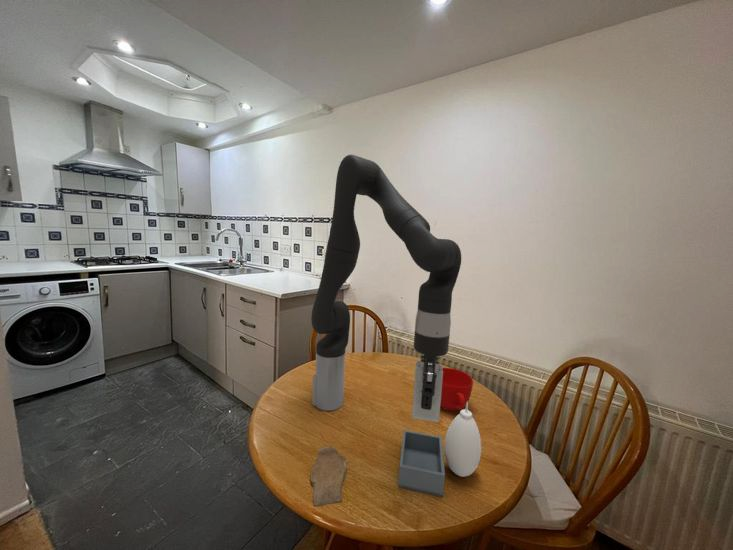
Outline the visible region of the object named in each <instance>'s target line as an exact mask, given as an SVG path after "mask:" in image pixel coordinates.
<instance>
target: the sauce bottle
mask: <svg viewBox="0 0 733 550" xmlns="http://www.w3.org/2000/svg"><path fill="white" fill-rule="evenodd" d="M468 401H469V400H468ZM468 401H467V403H466V404H465V408H463V409H460V411H459V414H457V415H456V416H455V418H453V420H452V421H451V423H450V425H449V427H448V428H447V431H446V434H445V439H444V449H443V452H444V455H445V460H446V464H447V465H448V467H449V469H450V470H451V471H452V472H454V474H455V475H457V476H459V477H462V478H463V477H464V478H465V477H468V476H471V475H472V474H473V473H474V472H475V471H476V469H477V467H479V464H480V461H481V456H482V439H481V435H480V430H479V427H478V424H477V422H476V420H475V419H474V417H473V413H472V412H471V411H470V410H469V409H468V408H469V402H468Z"/></svg>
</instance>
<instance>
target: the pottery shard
mask: <svg viewBox="0 0 733 550" xmlns="http://www.w3.org/2000/svg"><path fill="white" fill-rule="evenodd" d="M347 465H348V464H347V462H346V457H345V456H342V455H340V454H339V452H338V451H337V449H336V447H334V446H332V445H329V446H324V447H322V448H320V449H319V450H318V452H317V457H316V458H315V461H314V463H313V465H312V468H311V472H310V482H311V484H312V492H313V493H312V494H313V498H312V502H313V507H321V506H325V505H326V506H327V505H333V504H339V503H340V504H341V503H342V502H343V493H342V489H343V483H344V481H345V477H346V474H347V473H346V472H347Z"/></svg>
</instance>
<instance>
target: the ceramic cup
mask: <svg viewBox="0 0 733 550" xmlns="http://www.w3.org/2000/svg"><path fill="white" fill-rule="evenodd" d="M442 369H443V379H442V392H441V403H440V408H442V409H444V410H446V411H450V412H457V411H459V410H463V409H465V407H466V403H467V401H469V400H470V398H471V395H472V391H473V385H474V380H473V378H472V377H471V375H470V374H468V373H466V372H464V371H462V370H460V369H456V368H452V367H451V368H450V367H442Z"/></svg>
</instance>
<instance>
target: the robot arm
mask: <svg viewBox="0 0 733 550" xmlns="http://www.w3.org/2000/svg"><path fill="white" fill-rule="evenodd" d="M335 181H336V182H335V192H334V200H333V201H334V202H333V212H332V218H331V223H330V229H329V230H330V231H329V236H328V241H327V245H326V249H325V254H324V262H323V267H322V274H321V276H320V282H319V286H318V290H317V293H316V296H315V299H314V303H313V306H312V311H311V318H310V319H311V325H312V329H313V330H314V332H315V333H317V334H319V335H325V336H324V337H322V338H321V339H319V340H318V341H317V343H316V344H315V345H316V346H315V371H314V372H315V373H314V375H313V376H312V391H311V392H312V393H311V395H312V398H311V404H312V406H315V408H317V409H318V410H321V411H324V412H325V411H327V412H329V411H335V410H338V409H340V408H342V406H343V404H344V394H345V393H344V390H345V371H346V370H345V369H346V367H345V366H346V348H347V346H348V344H349V338H350V337H349V336H350V326H351V313H350V308H349V306H348V305H347V303H346V302H344V301H342V300H336V299H337V296H338V294H339V291H340V290H341V288H342V287H343V285H345V283H346V282H347V280H348V278H350V276H351V275H352V273H353V272H354V270H355V268H356V266H357V262H358V257H359V253H360V249H361V239H360V234H359V231H358V227H357V224H356V220H355V205H356V199H357V195H359V196H366V197H368V198H370V199H371V200H373V201H374V202H376V203H377V204H378V206H379V207H380V208H381V211H382V214H383V217H384V220H385V222H386V223H387V225H388V227H389V228H390V229H391V230H392V232H394V234H396V236H397V237H398V238H399V239H400V240H401V241H402V242H403V243H404V246H405V248H406V249H407V251H408V253H409V255H410V257H411V259H412V261H414V263H415V264H416V265H417V266H418V267H419V268H420V269H422V270H424V271H425V272H427V273H429V275H428V279H427V280H426V281H425V282H423V283H422V284H421V285H420V286H419V291H418V299H417V311H416V314H415V321H414V322H415V324H414V335H413V336H414V337H413V349H414V350H415V351H416V352H417V353H419V354H421V355H420V359H419V360H420V367H421V378H420V380H421V382H422V389H421V393H422V400H421V408H422V409H427V410H431V406H432V396H434V395H435V392H434V390H435V384H436V382H437V371H438V369H439V364H440V362H439V357H444V356H445V355H446V356H447V354H448V352H449V346H450V335H451V334H450V333H451V326H452V324H451V323H452V320H451V319H452V318H451V311H452V302H453V300H452V299H453V291H454V289H455V286H456V282H457V280H458V276H459V272H460V270H461V265H462V252H461V248H460V247H459V244H458V243H457V242H456V241H454V240H451V239H449V238H447V239H446V238H437V237H436V236H434V235H433V234H432V232H431V225H430V223H429V222H428V221H427V219H426V218H425V217H424V216H423V215H421V213H419V211H418V210H416V209H415V207H413V206H412V205H411V204H410V203H409V202H408V201H407V200H406V199H405V198H404V197H403V196H402V195H401V193H400V192H399V191H398V190H397V189H396V187H395V186H394V185H393V184H392V182H391V181H390V179H389V178H388V177H387V175H386V174H385V172H384V171H383V169H382V168H381V167H380V166H379V165H378V164H377V162H375V161H373V160H371V159H368V158H365V157H362V156H358V155H354V154H347V155H346V156H344V157H343V159H342V160H341V161H340V163H339V165H338V170H337V174H336V180H335ZM423 371H424V373H423ZM434 372H435V373H434ZM423 375H424V377H423ZM426 387H427V388H426Z"/></svg>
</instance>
